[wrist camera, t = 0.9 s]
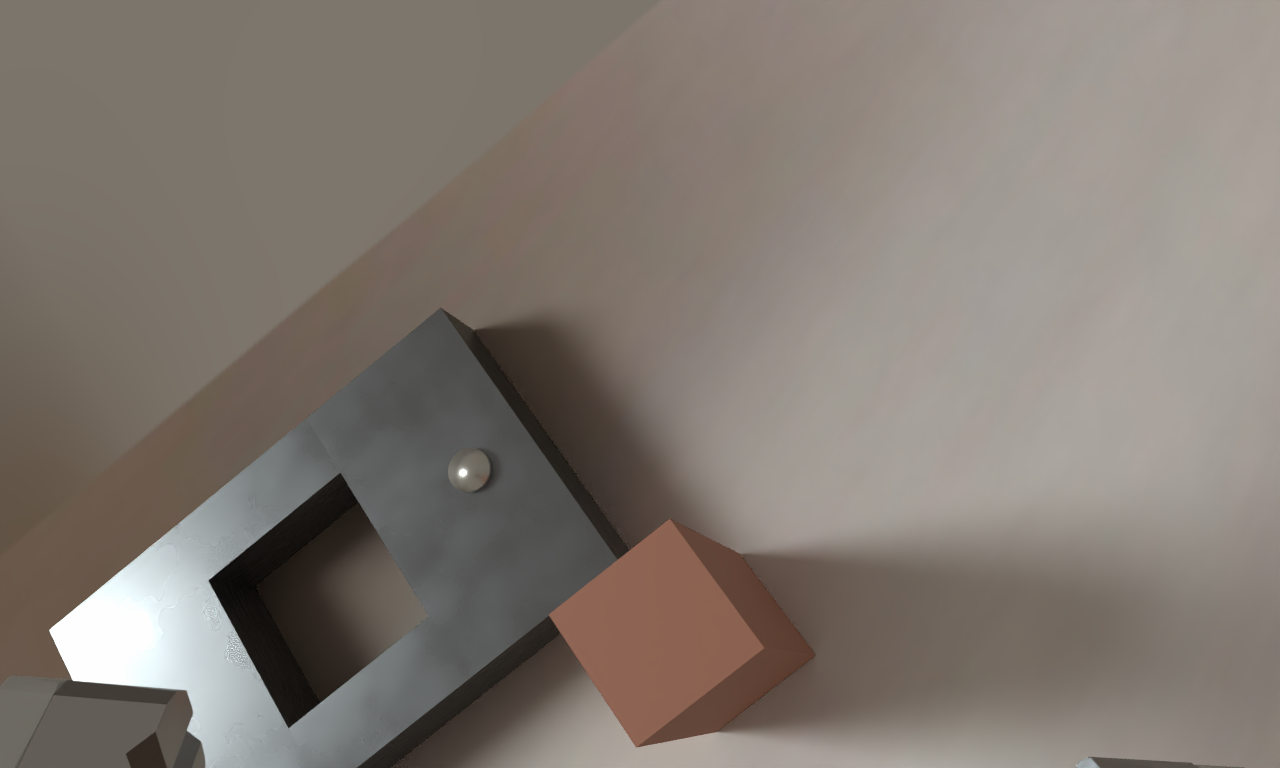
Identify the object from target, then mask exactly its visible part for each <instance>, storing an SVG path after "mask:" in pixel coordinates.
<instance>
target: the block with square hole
mask: <svg viewBox="0 0 1280 768" xmlns="http://www.w3.org/2000/svg"><path fill="white" fill-rule="evenodd" d="M357 502H359V504H360V505H361V507H362V508H363V510H364V512H365V513H366V515H367V517H368V518H369V520H370V521H371V523H372V525H373V526H374V528H375V529H376V531H377V533H378V534H379V536H380V538H381V539H382V541H383V542H384V544H385V546H386V547H387V549H388V551H389V552H390V554H391V555H392V557H393V559H394V560H395V562H396V563H397V565H398V567H399V568H400V570H401V572H402V573H403V575H404V576H405V578H406V580H407V581H408V583H409V585H410V586H411V588H412V589H413V591H414V593H415V594H416V596H417V597H418V599H419V601H420V602H421V604H422V606H423V607H424V609H425V610H426V612H427V614H428V615H429V617H427V618H426V619H425V620H424V621H422V622H421V623H420V624H419V625H417V626H416V627H415V628H414V629H412V630H411V631H410V632H409V633H407V634H406V635H405V636H404V637H402V638H401V639H400V640H399V641H397V642H396V643H395V644H394V645H392V646H391V647H390V648H388V649H387V650H386V651H385V652H383V653H382V654H381V655H380V656H378V657H377V658H376V659H375V660H373V661H372V662H371V663H370V664H368V665H367V666H366V667H365V668H363V669H362V670H361V671H360V672H358V673H357V674H356V675H355V676H353V677H352V678H351V679H350V680H348V681H347V682H346V683H345V684H343V685H342V686H341V687H340V688H338V689H337V690H336V691H335V692H333V693H332V694H331V695H330V696H328V697H327V698H326V699H325V700H323V701H322V702H321V703H319V702H318V700H317V698H316V696H315V694H314V693H313V691H312V689H311V687H310V685H309V684H308V682H307V680H306V678H305V677H304V675H303V673H302V671H301V669H300V668H299V666H298V664H297V662H296V660H295V659H294V657H293V655H292V653H291V651H290V650H289V648H288V646H287V644H286V643H285V641H284V639H283V637H282V635H281V634H280V632H279V630H278V628H277V626H276V625H275V623H274V621H273V619H272V618H271V616H270V614H269V612H268V610H267V609H266V607H265V605H264V603H263V601H262V600H261V598H260V596H259V594H258V593H257V591H256V589H255V587H254V586H255V585H256V584H258V583H259V582H260V581H261V580H263V579H264V578H265V577H266V576H267V575H269V574H270V573H271V572H272V571H274V570H275V569H276V568H277V567H278V566H280V565H281V564H282V563H283V562H285V561H286V560H287V559H288V558H290V557H291V556H292V555H293V554H294V553H296V552H297V551H298V550H299V549H301V548H302V547H303V546H304V545H306V544H307V543H308V542H309V541H310V540H312V539H313V538H314V537H315V536H317V535H318V534H319V533H320V532H322V531H323V530H324V529H325V528H326V527H328V526H329V525H330V524H331V523H333V522H334V521H335V520H336V519H338V518H339V517H340V516H341V515H342V514H344V513H345V512H346V511H347V510H349V509H350V508H351V507H352V506H354V505H355V504H356V503H357ZM628 551H629V549H628V548H627V546H626V545H625V544H624V542H623V541H622V539H621V538H620V537H619V535H618V534H617V532H616V531H615V530H614V528H613V527H612V525H611V524H610V522H609V521H608V520H607V518H606V517H605V515H604V514H603V513H602V511H601V510H600V508H599V507H598V506H597V504H596V503H595V501H594V500H593V498H592V497H591V496H590V494H589V493H588V491H587V490H586V489H585V487H584V486H583V484H582V483H581V481H580V480H579V479H578V477H577V476H576V474H575V473H574V472H573V470H572V469H571V467H570V466H569V465H568V463H567V462H566V460H565V459H564V457H563V456H562V455H561V453H560V452H559V450H558V449H557V448H556V446H555V445H554V443H553V442H552V441H551V439H550V438H549V436H548V435H547V433H546V432H545V431H544V429H543V428H542V426H541V425H540V424H539V422H538V421H537V419H536V418H535V417H534V415H533V414H532V412H531V411H530V409H529V408H528V407H527V405H526V404H525V402H524V401H523V400H522V398H521V397H520V395H519V394H518V392H517V391H516V390H515V388H514V387H513V385H512V384H511V383H510V381H509V380H508V378H507V377H506V376H505V374H504V373H503V371H502V370H501V368H500V367H499V366H498V364H497V363H496V361H495V360H494V359H493V357H492V356H491V354H490V353H489V352H488V350H487V349H486V347H485V346H484V344H483V343H482V342H481V340H480V339H479V337H478V336H477V335H476V333H475V332H474V330H473V329H471V328H470V327H468V326H467V325H465V324H464V323H462V322H461V321H460V320H458V319H457V318H455V317H454V316H452V315H451V314H449V313H448V312H446V311H445V310H443V309H442V308H440V309H439V310H437V311H436V312H435V313H434V314H433V315H431V316H430V317H429V318H428V319H426V320H425V321H424V322H423V323H422V324H420V325H419V326H418V327H417V328H416V329H414V330H413V331H412V332H411V333H409V334H408V335H407V336H406V337H405V338H403V339H402V340H401V341H400V342H399V343H397V344H396V345H395V346H394V347H392V348H391V349H390V350H389V351H388V352H386V353H385V354H384V355H383V356H382V357H380V358H379V359H378V360H377V361H375V362H374V363H373V364H372V365H371V366H369V367H368V368H367V369H366V370H365V371H363V372H362V373H361V374H360V375H358V376H357V377H356V378H355V379H354V380H352V381H351V382H350V383H349V384H348V385H346V386H345V387H344V388H343V389H341V390H340V391H339V392H338V393H337V394H335V395H334V396H333V397H332V398H331V399H329V400H328V401H327V402H326V403H324V404H323V405H322V406H321V407H320V408H318V409H317V410H316V411H315V412H314V413H312V414H311V415H310V416H309V417H307V418H306V419H305V420H304V421H303V422H301V423H300V424H299V425H298V426H297V427H295V428H294V429H293V430H292V431H290V432H289V433H288V434H287V435H286V436H284V437H283V438H282V439H281V440H280V441H278V442H277V443H276V444H275V445H273V446H272V447H271V448H270V449H269V450H267V451H266V452H265V453H264V454H263V455H261V456H260V457H259V458H258V459H256V460H255V461H254V462H253V463H252V464H250V465H249V466H248V467H247V468H246V469H244V470H243V471H242V472H241V473H239V474H238V475H237V476H236V477H235V478H233V479H232V480H231V481H230V482H229V483H227V484H226V485H225V486H224V487H222V488H221V489H220V490H219V491H218V492H216V493H215V494H214V495H213V496H212V497H210V498H209V499H208V500H207V501H205V502H204V503H203V504H202V505H201V506H199V507H198V508H197V509H196V510H195V511H193V512H192V513H191V514H190V515H188V516H187V517H186V518H185V519H184V520H182V521H181V522H180V523H179V524H178V525H176V526H175V527H174V528H173V529H171V530H170V531H169V532H168V533H167V534H165V535H164V536H163V537H162V538H161V539H159V540H158V541H157V542H156V543H154V544H153V545H152V546H151V547H150V548H148V549H147V550H146V551H145V552H143V553H142V554H141V555H140V556H139V557H137V558H136V559H135V560H134V561H133V562H131V563H130V564H129V565H128V566H126V567H125V568H124V569H123V570H122V571H120V572H119V573H118V574H117V575H116V576H114V577H113V578H112V579H111V580H109V581H108V582H107V583H106V584H105V585H103V586H102V587H101V588H100V589H99V590H97V591H96V592H95V593H94V594H92V595H91V596H90V597H89V598H88V599H86V600H85V601H84V602H83V603H82V604H80V605H79V606H78V607H77V608H75V609H74V610H73V611H72V612H71V613H69V614H68V615H67V616H66V617H65V618H63V619H62V620H61V621H60V622H58V623H57V624H56V625H55V626H54V627H52V628H51V629H50V630H49V631H50V633H51V635H52V637H53V639H54V641H55V643H56V645H57V647H58V650H59V652H60V654H61V656H62V658H63V660H64V662H65V664H66V666H67V668H68V671H69V673H70V675H71V677H72V679H73V681H83V682H94V683H106V684H118V685H130V686H142V687H154V688H166V689H178V690H187V694H188V697H189V700H190V703H191V706H192V709H193V715H192V718H191V720H190V723H189V726H188V728H187V731H188V732H190V733H191V734H192V735H193V736H195V737H196V738H197V739H199V740H200V741H201V742H202V746H203V751H204V755H205V768H390V767H391V766H393V765H394V764H395V763H396V762H398V761H399V760H400V759H401V758H403V757H404V756H405V755H406V754H408V753H409V752H410V751H412V750H413V749H414V748H415V747H417V746H418V745H419V744H420V743H422V742H423V741H424V740H425V739H427V738H428V737H429V736H431V735H432V734H433V733H434V732H436V731H437V730H438V729H439V728H441V727H442V726H443V725H444V724H446V723H447V722H448V721H450V720H451V719H452V718H453V717H455V716H456V715H457V714H458V713H460V712H461V711H462V710H463V709H465V708H466V707H467V706H469V705H470V704H471V703H472V702H474V701H475V700H476V699H477V698H479V697H480V696H481V695H482V694H484V693H485V692H486V691H488V690H489V689H490V688H491V687H493V686H494V685H495V684H496V683H498V682H499V681H500V680H502V679H503V678H504V677H505V676H507V675H508V674H509V673H510V672H512V671H513V670H514V669H515V668H517V667H518V666H519V665H521V664H522V663H523V662H524V661H526V660H527V659H528V658H529V657H531V656H532V655H533V654H534V653H536V652H537V651H538V650H540V649H541V648H542V647H543V646H545V645H546V644H547V643H548V642H550V641H551V640H552V639H553V638H555V637H556V636H557V635H559V634H560V631H559V630H558V628H557V627H556V625H555V624H554V622H553V621H552V619H551V618H550V616H549V614H550V613H551V612H553V611H554V610H555V609H556V608H558V607H559V606H560V605H561V604H563V603H564V602H565V601H566V600H568V599H569V598H570V597H571V596H573V595H574V594H575V593H577V592H578V591H579V590H580V589H582V588H583V587H584V586H585V585H587V584H588V583H589V582H590V581H592V580H593V579H594V578H595V577H597V576H598V575H599V574H601V573H602V572H603V571H604V570H606V569H607V568H608V567H609V566H611V565H612V564H613V563H614V562H616V561H617V560H618V559H619V558H621V557H622V556H623V555H625V554H626V553H627V552H628Z"/></svg>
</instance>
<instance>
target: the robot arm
mask: <svg viewBox="0 0 1280 768" xmlns="http://www.w3.org/2000/svg"><path fill="white" fill-rule="evenodd" d="M192 715H193V709H192V706H191V703H190V700H189V697H188V694H187V690H178V689H166V688H154V687H142V686H130V685H118V684H106V683H94V682H83V681H73V680H69V679H55V678H41V677H27V676H12V675H10V676H9V677H8V678H7V679H6V680H5V681H4V682H3V683H2V684H1V685H0V768H205V755H204V751H203V746H202V742H201V741H200V740H199V739H197V738H196V737H195V736H193V735H192V734H191V733H190V732H188V731H187V728H188V726H189V723H190V720H191V718H192ZM1076 768H1244V767H1227V766H1210V765H1194V764H1193V763H1187V762H1170V761H1152V760H1135V759H1118V758H1100V757H1088V758H1086V759H1084V760H1082V761H1080V762H1079V763H1078V764H1077V766H1076Z"/></svg>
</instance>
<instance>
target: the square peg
mask: <svg viewBox="0 0 1280 768" xmlns="http://www.w3.org/2000/svg"><path fill="white" fill-rule="evenodd" d="M549 616H550V618H551V619H552V621H553V622H554V624H555V625H556V627H557V628H558V630H559V631H560V633H561V634H562V636H563V637H564V639H565V640H566V642H567V643H568V645H569V646H570V648H571V649H572V651H573V652H574V654H575V655H576V657H577V658H578V660H579V661H580V663H581V665H582V666H583V668H584V669H585V671H586V672H587V674H588V675H589V677H590V678H591V680H592V681H593V683H594V684H595V686H596V687H597V689H598V690H599V692H600V693H601V695H602V696H603V698H604V699H605V701H606V702H607V704H608V705H609V707H610V708H611V710H612V711H613V713H614V714H615V716H616V717H617V719H618V720H619V722H620V723H621V725H622V727H623V728H624V730H625V731H626V733H627V734H628V736H629V737H630V739H631V740H632V742H633V743H634V745H635V746H636V747H641V746H646V745H651V744H657V743H662V742H667V741H672V740H677V739H683V738H688V737H693V736H698V735H703V734H709V733H714V732H717V731H718V730H720V729H721V728H722V727H724V726H725V725H726V724H727V723H729V722H730V721H731V720H733V719H734V718H735V717H736V716H738V715H739V714H740V713H742V712H743V711H744V710H746V709H747V708H748V707H749V706H751V705H752V704H753V703H755V702H756V701H757V700H759V699H760V698H761V697H762V696H764V695H765V694H766V693H768V692H769V691H770V690H771V689H773V688H774V687H775V686H777V685H778V684H779V683H781V682H782V681H783V680H784V679H786V678H787V677H788V676H790V675H791V674H792V673H794V672H795V671H796V670H797V669H799V668H800V667H801V666H803V665H804V664H805V663H806V662H808V661H809V660H810V659H812V658H813V657H814V656H816V655H815V654H814V652H813V651H812V650H811V648H810V647H809V646H808V644H807V643H806V641H805V640H804V639H803V637H802V636H801V635H800V633H799V632H798V631H797V629H796V628H795V627H794V625H793V624H792V623H791V621H790V620H789V619H788V617H787V616H786V615H785V613H784V612H783V611H782V609H781V608H780V607H779V605H778V604H777V603H776V601H775V600H774V599H773V597H772V596H771V595H770V593H769V592H768V591H767V589H766V588H765V587H764V585H763V584H762V583H761V581H760V580H759V579H758V577H757V576H756V575H755V573H754V572H753V571H752V569H751V568H750V567H749V565H748V564H747V563H746V561H745V560H744V559H743V557H742V556H741V555H740V554H739V553H737V552H735V551H733V550H731V549H729V548H727V547H725V546H723V545H721V544H719V543H717V542H715V541H713V540H711V539H709V538H707V537H705V536H703V535H701V534H699V533H697V532H695V531H693V530H691V529H689V528H687V527H685V526H683V525H681V524H679V523H677V522H675V521H673V520H671V519H669V520H667V521H666V522H665V523H664V524H662V525H661V526H660V527H659V528H657V529H656V530H655V531H654V532H652V533H651V534H650V535H649V536H647V537H646V538H645V539H643V540H642V541H641V542H640V543H638V544H637V545H636V546H635V547H633V548H632V549H631V550H630V551H628V552H627V553H626V554H625V555H623V556H622V557H621V558H619V559H618V560H617V561H616V562H614V563H613V564H612V565H611V566H609V567H608V568H607V569H606V570H604V571H603V572H602V573H601V574H599V575H598V576H597V577H595V578H594V579H593V580H592V581H590V582H589V583H588V584H587V585H585V586H584V587H583V588H582V589H580V590H579V591H578V592H577V593H575V594H574V595H573V596H571V597H570V598H569V599H568V600H566V601H565V602H564V603H563V604H561V605H560V606H559V607H558V608H556V609H555V610H554V611H553V612H551V613H550V614H549Z"/></svg>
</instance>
